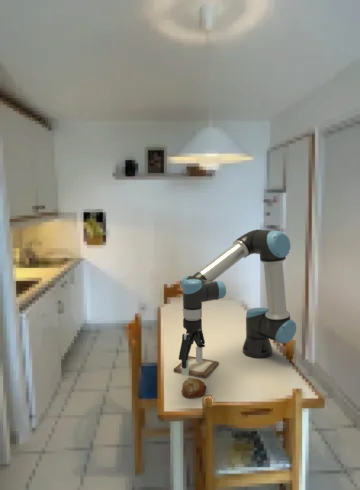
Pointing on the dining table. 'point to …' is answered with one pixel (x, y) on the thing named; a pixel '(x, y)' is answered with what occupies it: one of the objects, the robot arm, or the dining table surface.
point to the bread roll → (193, 388)
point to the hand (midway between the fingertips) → (192, 368)
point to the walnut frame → (198, 367)
